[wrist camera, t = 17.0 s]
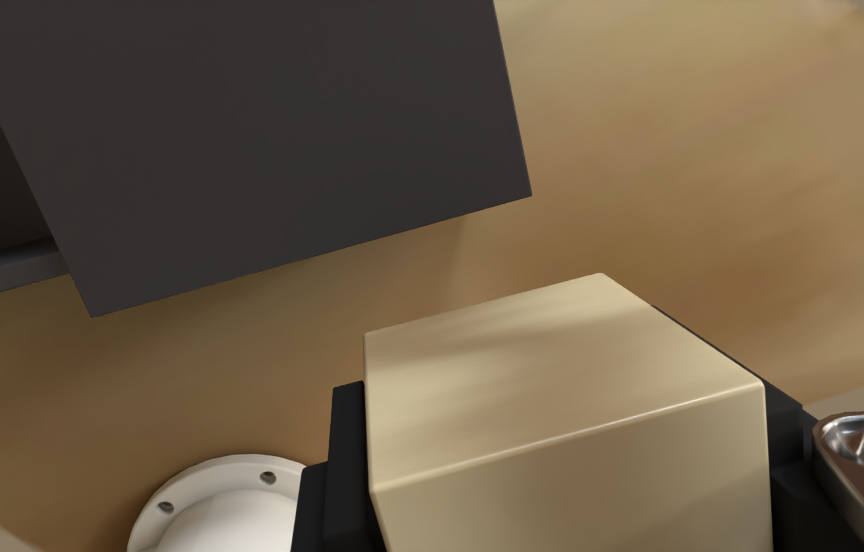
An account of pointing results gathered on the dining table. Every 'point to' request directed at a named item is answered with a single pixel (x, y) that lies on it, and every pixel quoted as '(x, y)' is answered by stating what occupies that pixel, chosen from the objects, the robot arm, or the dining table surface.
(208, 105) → the drawer cabinet
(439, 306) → the dining table surface
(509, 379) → the cube
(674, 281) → the dining table surface
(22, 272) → the pull-out drawer
